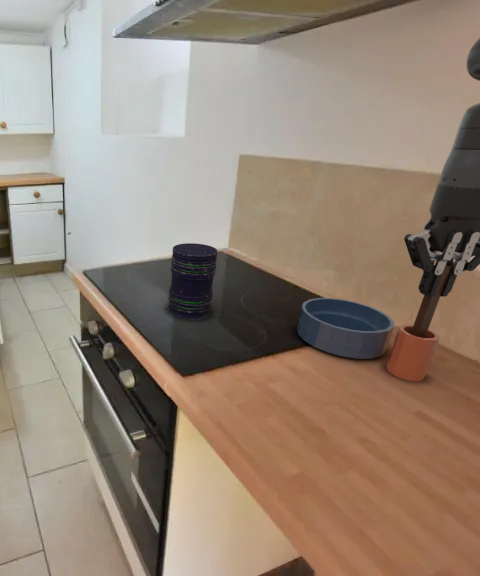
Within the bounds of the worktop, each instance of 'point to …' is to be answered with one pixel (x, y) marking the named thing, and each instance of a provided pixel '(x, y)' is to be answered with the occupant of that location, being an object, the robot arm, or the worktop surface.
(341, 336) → the bowl
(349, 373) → the worktop surface
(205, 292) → the storage jar
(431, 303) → the stirring stick
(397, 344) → the utensil holder
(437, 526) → the worktop surface
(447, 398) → the worktop surface
